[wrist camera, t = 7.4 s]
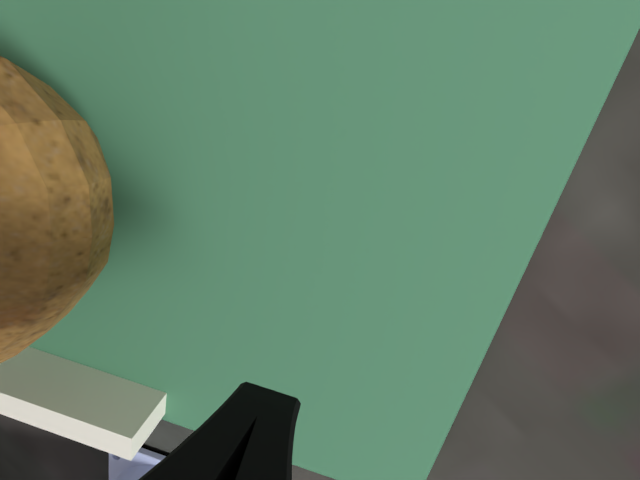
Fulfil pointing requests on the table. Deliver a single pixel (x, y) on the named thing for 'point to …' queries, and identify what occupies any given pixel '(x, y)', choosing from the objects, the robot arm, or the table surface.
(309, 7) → the green mat
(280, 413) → the robot arm
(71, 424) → the white angular frame
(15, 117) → the potato
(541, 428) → the table surface
